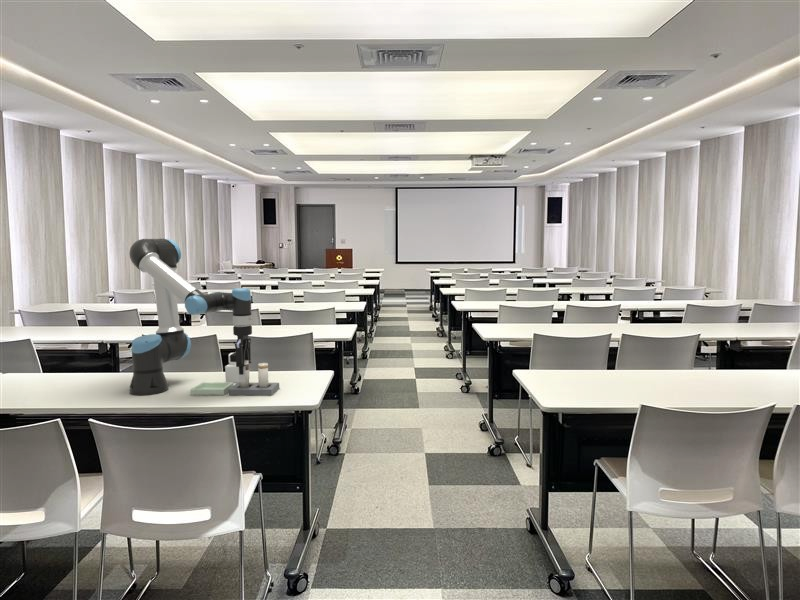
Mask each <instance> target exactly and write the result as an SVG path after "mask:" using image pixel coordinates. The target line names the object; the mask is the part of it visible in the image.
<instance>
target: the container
mask: <svg viewBox="0 0 800 600" xmlns="http://www.w3.org/2000/svg"><path fill="white" fill-rule="evenodd" d="M224 369H225V370H224V371H225V372H224V373H225V382H231V383H234V384H237V383H239V371H238V367H236V351H235V352H230V353H228V364H227V365H225V366H224Z"/></svg>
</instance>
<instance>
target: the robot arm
mask: <svg viewBox="0 0 800 600" xmlns="http://www.w3.org/2000/svg"><path fill="white" fill-rule="evenodd" d="M128 253H129V255H128V256H129V258H130V260H131V261H130V262H132V264H133V265H134V266H135V268H136V269H138V270H139V271H140V272H142V273H147V274H148V275H149V276H150V277H152V278H153V285H154V286H153V287H154V295H155V303H156V312H157V313H156V314H157V320H158V329H157V330H156V331H155V333H153V334H145V335H141V336H138V337H136V338H134V339H133V340H132V342H131V356H132V357H131V359H132V372H133V374H132V379H131V382H130V384H129V385H130V386H129V393H130V394H131V395H134V396H146V395H147V396H149V395H155V394H160V393H165V392H167V391H168V390H169V383H168V380H167V378H166V376H165V373H164V366H163V364H166V363H168V362H173V361H178V360H180V359H182V358H183V359H184V358H185V357H187V355H188V354H189V353H190V350H191V348H192V341H191V338H190V337H189V335H188V334H187V332H185V331H184V328H183V327H182V326H181V325H180V317H179V315H180V314H179V309H178V307H179V306H178V299H179V300H180V301H182V302H183V303H184V308H185V309H186V312H187V313H188V314H190V315H194V316H195V315H199V316H200V315H204V314H207V313H214V312H222V311H230V312H232V325H233V327H232V328H233V329H232V330H233V331H232V333H233V336H236V337H237V340H236V342H235V343H234V349H235V352H236V367H238V371H239V382H246V371H245V366H244V363H245V360H249V364H252V361H251V360H252V357H251V356H252V355H251V354H252V353H251V351H252V350H251V344H252V343H251V341H252V340H251V339H252V338H251V337H249V336H250V335H252V334H253V326H252V324H253V323H252V320H253V317H252V294H251V293H252V292H251V289H250V288H248V287H237V288H236V287H235V288H232V290H231V292H222V291H212V292H210V293H206V294H205V293H203V292H202V291H200V290H199V289H197V288H196V287H195V286H194V285H193V284H192V283H190V282H189V281H188V280H187V279H185V278H184V277H183V276H181V275H180V274H179V273H178V272H176V270H177V269H178V266H177V264H178V263H179V262H180V261H181V258H182V252H181V247H180V246H179V245H178V243H176V241H175V240H172V239H169V238H141V239H138V240H136V241H134V242H133V244H132V245H131V246H130V249H129V252H128Z"/></svg>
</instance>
